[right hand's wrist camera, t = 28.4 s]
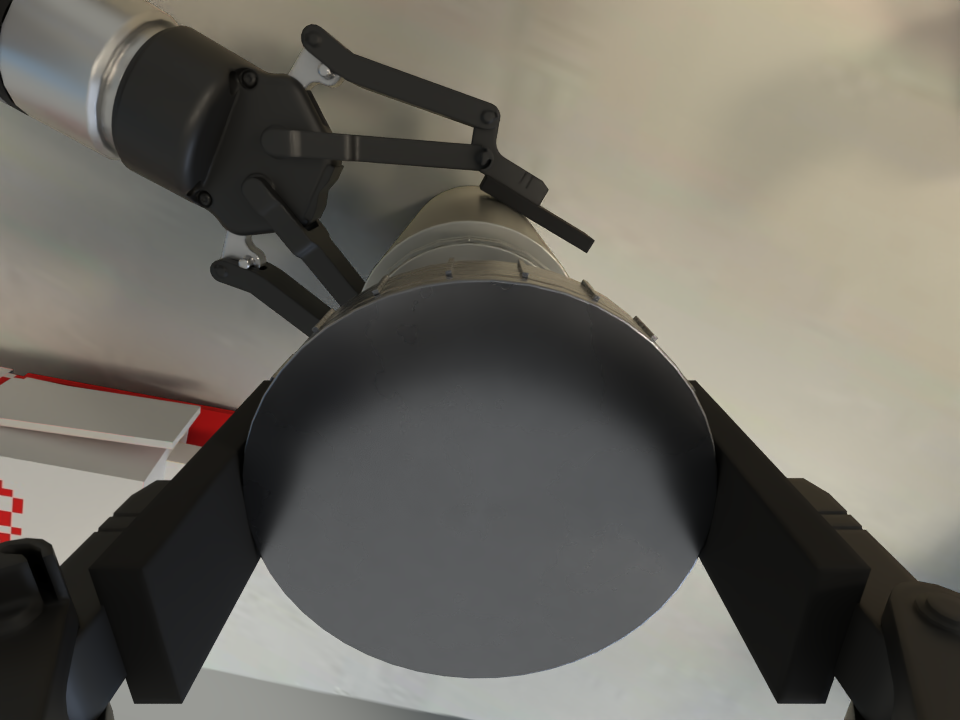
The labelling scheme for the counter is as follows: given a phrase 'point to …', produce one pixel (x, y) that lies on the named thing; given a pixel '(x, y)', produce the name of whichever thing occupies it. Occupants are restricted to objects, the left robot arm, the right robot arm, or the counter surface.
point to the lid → (479, 471)
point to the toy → (86, 453)
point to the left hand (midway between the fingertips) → (540, 313)
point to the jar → (465, 236)
